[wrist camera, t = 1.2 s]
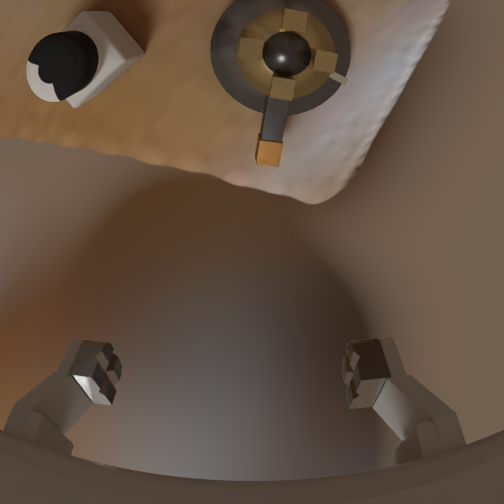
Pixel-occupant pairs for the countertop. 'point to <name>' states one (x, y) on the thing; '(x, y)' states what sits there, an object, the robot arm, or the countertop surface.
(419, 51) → the countertop surface
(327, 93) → the plate
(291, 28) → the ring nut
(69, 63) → the medicine bottle
